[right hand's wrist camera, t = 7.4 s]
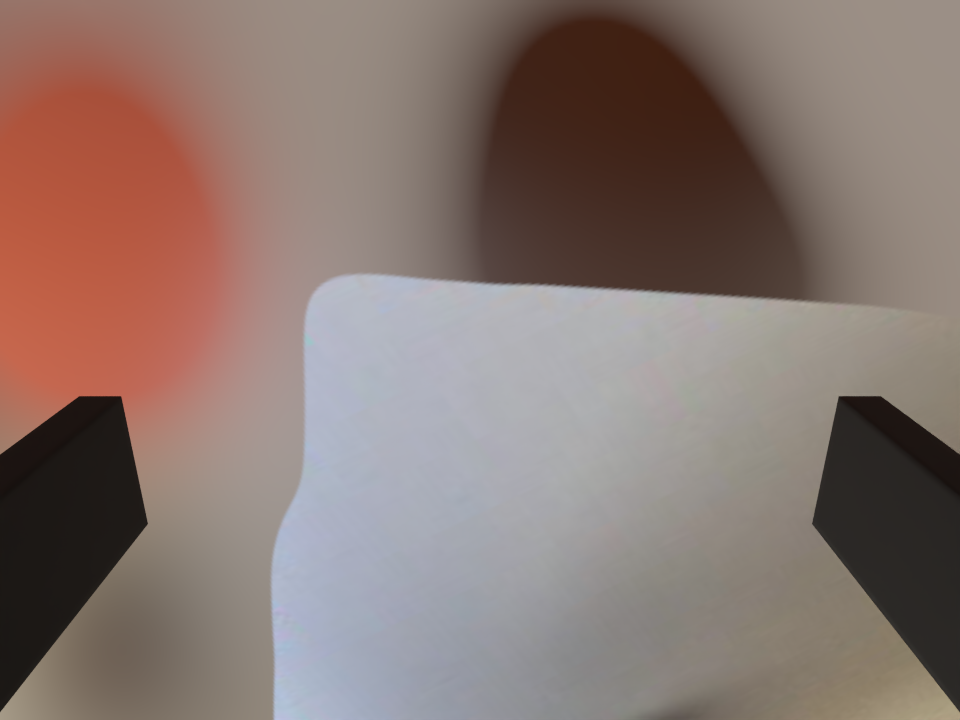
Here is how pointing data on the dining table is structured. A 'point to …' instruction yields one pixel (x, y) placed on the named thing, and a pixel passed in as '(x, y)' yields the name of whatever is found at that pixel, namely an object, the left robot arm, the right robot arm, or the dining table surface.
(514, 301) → the dining table surface
